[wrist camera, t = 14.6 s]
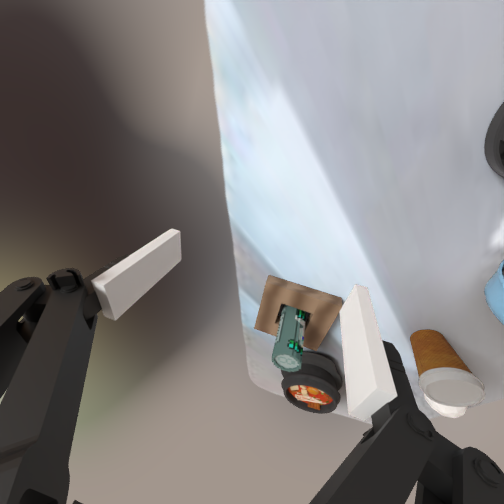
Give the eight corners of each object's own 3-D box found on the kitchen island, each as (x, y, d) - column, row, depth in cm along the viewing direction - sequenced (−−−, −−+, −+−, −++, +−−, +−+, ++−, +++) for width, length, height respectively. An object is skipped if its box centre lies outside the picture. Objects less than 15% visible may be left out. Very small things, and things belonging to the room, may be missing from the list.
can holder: (341, 297, 49) (342, 306, 46) (316, 341, 58) (316, 351, 56) (268, 274, 51) (266, 282, 49) (256, 320, 61) (254, 328, 59)
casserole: (335, 399, 70) (336, 428, 63) (281, 384, 75) (277, 410, 68) (348, 354, 57) (352, 385, 51) (282, 340, 63) (277, 366, 56)
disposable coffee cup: (463, 343, 45) (502, 403, 35) (419, 356, 51) (442, 411, 41) (434, 317, 44) (466, 372, 34) (392, 334, 50) (409, 385, 40)
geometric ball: (430, 376, 56) (425, 407, 54) (422, 369, 52) (417, 403, 50) (470, 391, 50) (467, 427, 48) (464, 385, 46) (461, 424, 44)
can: (305, 320, 56) (300, 374, 43) (282, 316, 57) (271, 367, 45) (307, 304, 53) (302, 357, 40) (283, 299, 54) (271, 350, 42)
